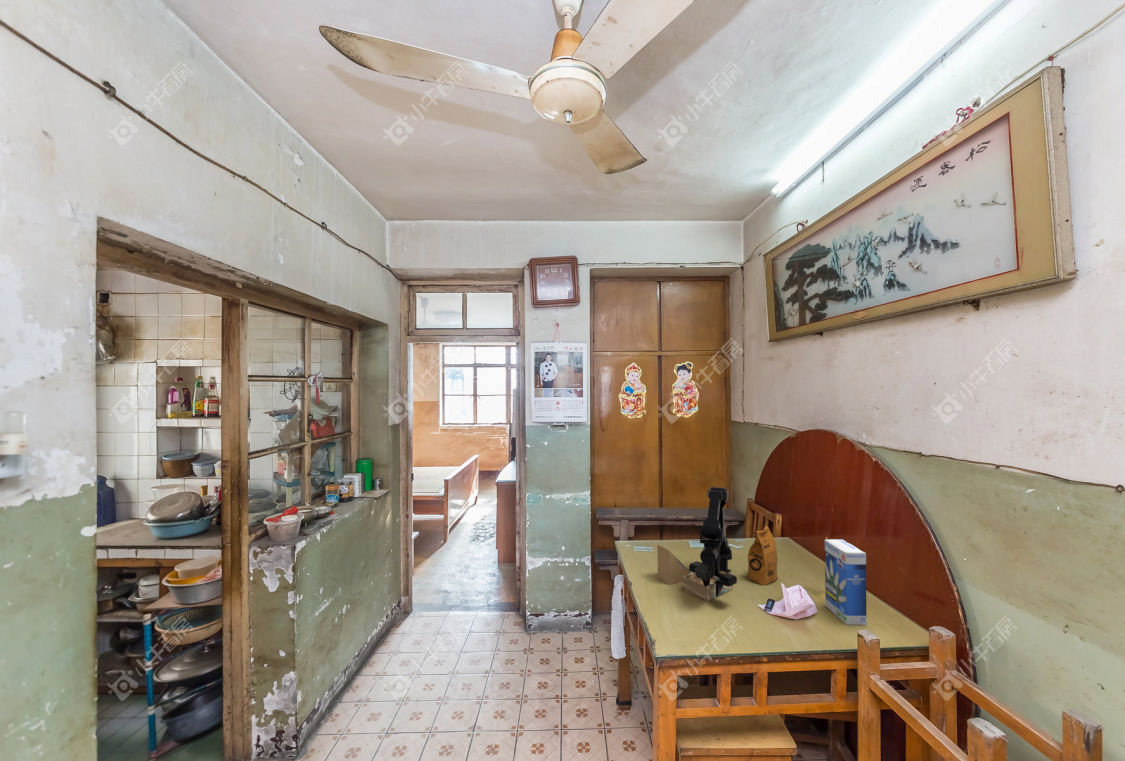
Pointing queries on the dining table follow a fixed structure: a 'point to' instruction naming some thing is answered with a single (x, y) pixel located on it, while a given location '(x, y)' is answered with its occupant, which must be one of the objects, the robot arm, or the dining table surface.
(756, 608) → the dining table surface
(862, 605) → the string lights box
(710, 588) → the flap
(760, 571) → the coffee package
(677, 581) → the sandwich container
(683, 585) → the carton
